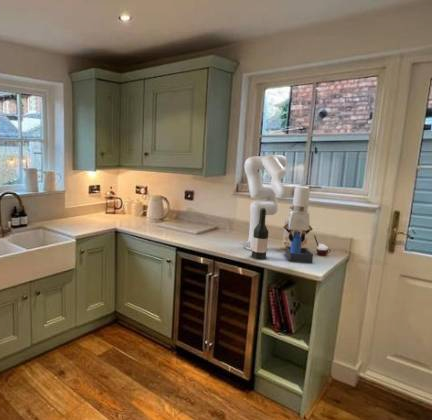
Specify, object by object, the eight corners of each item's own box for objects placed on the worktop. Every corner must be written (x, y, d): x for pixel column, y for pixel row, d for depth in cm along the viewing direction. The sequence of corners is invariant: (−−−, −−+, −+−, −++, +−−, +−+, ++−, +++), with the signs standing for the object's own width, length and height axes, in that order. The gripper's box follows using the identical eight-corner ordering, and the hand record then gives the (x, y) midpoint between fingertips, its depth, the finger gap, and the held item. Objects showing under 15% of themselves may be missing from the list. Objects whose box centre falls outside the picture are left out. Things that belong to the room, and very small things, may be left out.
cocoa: (330, 254, 223) (332, 236, 221) (328, 257, 218) (331, 238, 216) (312, 252, 229) (315, 233, 227) (311, 254, 224) (313, 235, 222)
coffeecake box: (290, 251, 230) (294, 221, 226) (281, 248, 236) (284, 219, 233) (306, 248, 236) (310, 219, 232) (297, 245, 242) (300, 217, 239)
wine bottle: (248, 255, 219) (253, 207, 214) (261, 255, 220) (266, 207, 214) (255, 259, 211) (259, 209, 205) (268, 259, 212) (273, 209, 206)
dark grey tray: (290, 261, 210) (291, 252, 209) (285, 254, 223) (285, 246, 222) (312, 262, 207) (313, 254, 206) (305, 256, 220) (306, 248, 219)
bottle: (291, 253, 198) (293, 232, 196) (289, 251, 203) (291, 230, 201) (301, 254, 197) (303, 233, 195) (298, 251, 202) (301, 231, 200)
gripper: (284, 209, 194) (281, 241, 198) (319, 211, 190) (315, 244, 194) (281, 207, 202) (278, 238, 205) (314, 208, 198) (311, 240, 201)
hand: (296, 240), depth 199 cm, fingers closed on bottle, 5 cm apart
